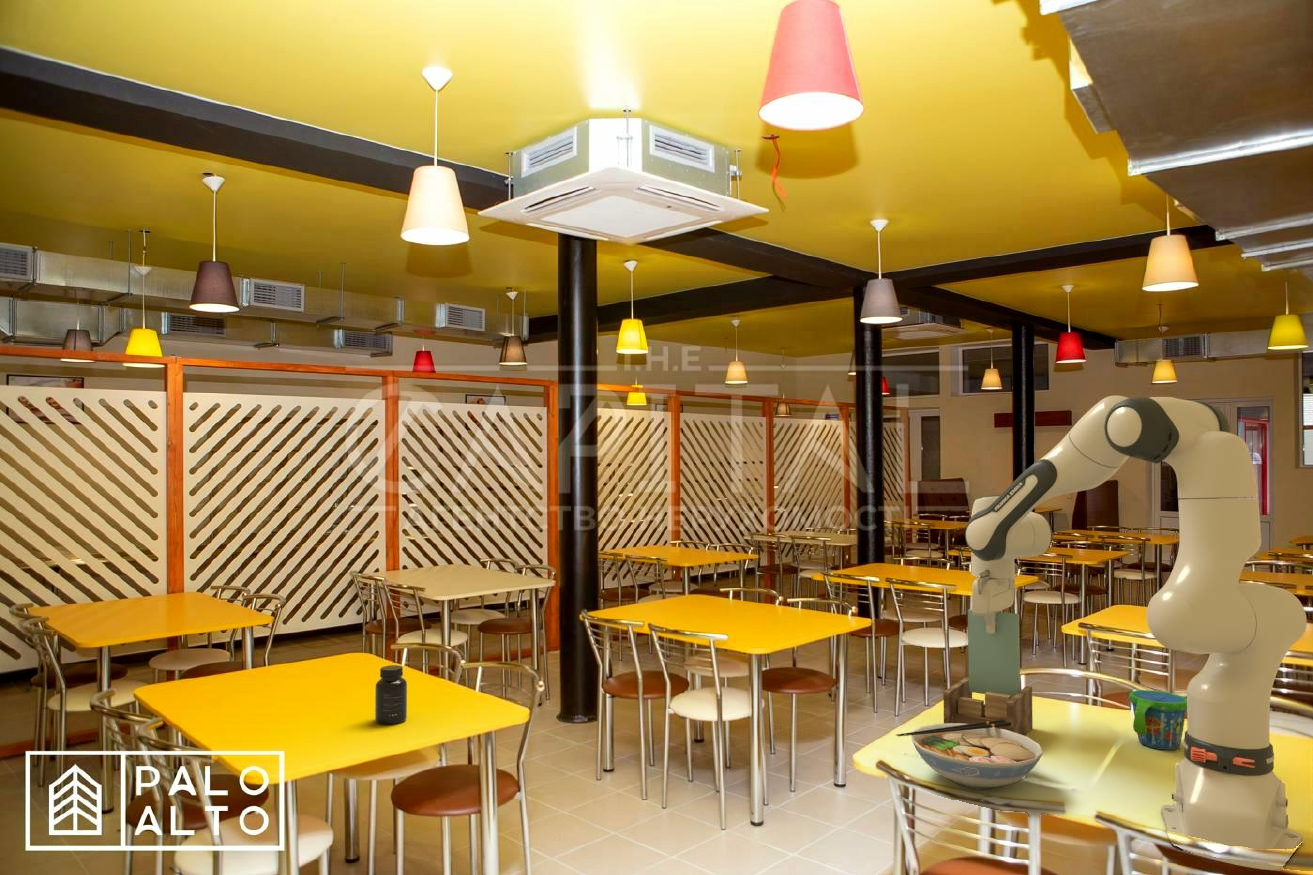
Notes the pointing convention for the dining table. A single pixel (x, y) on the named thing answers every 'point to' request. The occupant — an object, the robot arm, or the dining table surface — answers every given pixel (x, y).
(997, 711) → the tall oak offcut
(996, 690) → the tall panel
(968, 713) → the short oak offcut
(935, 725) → the ramen bowl
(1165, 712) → the snack cup
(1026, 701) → the walnut rack
